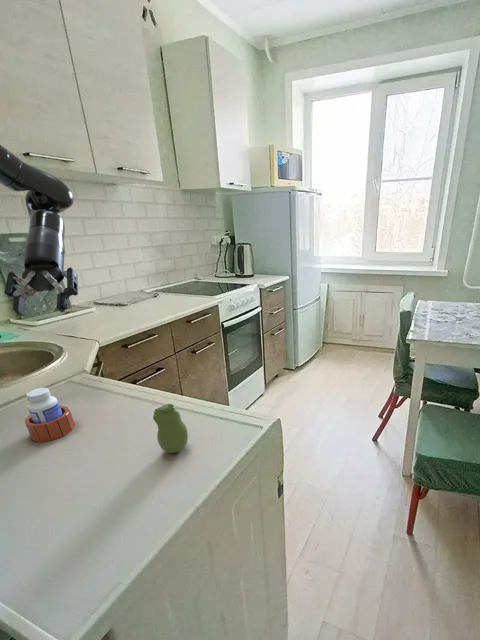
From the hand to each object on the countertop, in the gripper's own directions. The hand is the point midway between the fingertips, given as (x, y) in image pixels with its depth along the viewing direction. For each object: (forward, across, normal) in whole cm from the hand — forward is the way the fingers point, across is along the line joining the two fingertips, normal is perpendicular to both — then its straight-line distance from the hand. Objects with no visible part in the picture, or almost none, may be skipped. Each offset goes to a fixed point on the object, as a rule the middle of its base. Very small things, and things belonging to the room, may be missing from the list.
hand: (40, 312), depth 78 cm
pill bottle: (+25, 0, +8) cm, 27 cm away
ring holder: (+25, 0, +8) cm, 26 cm away
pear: (+35, +28, -1) cm, 44 cm away
